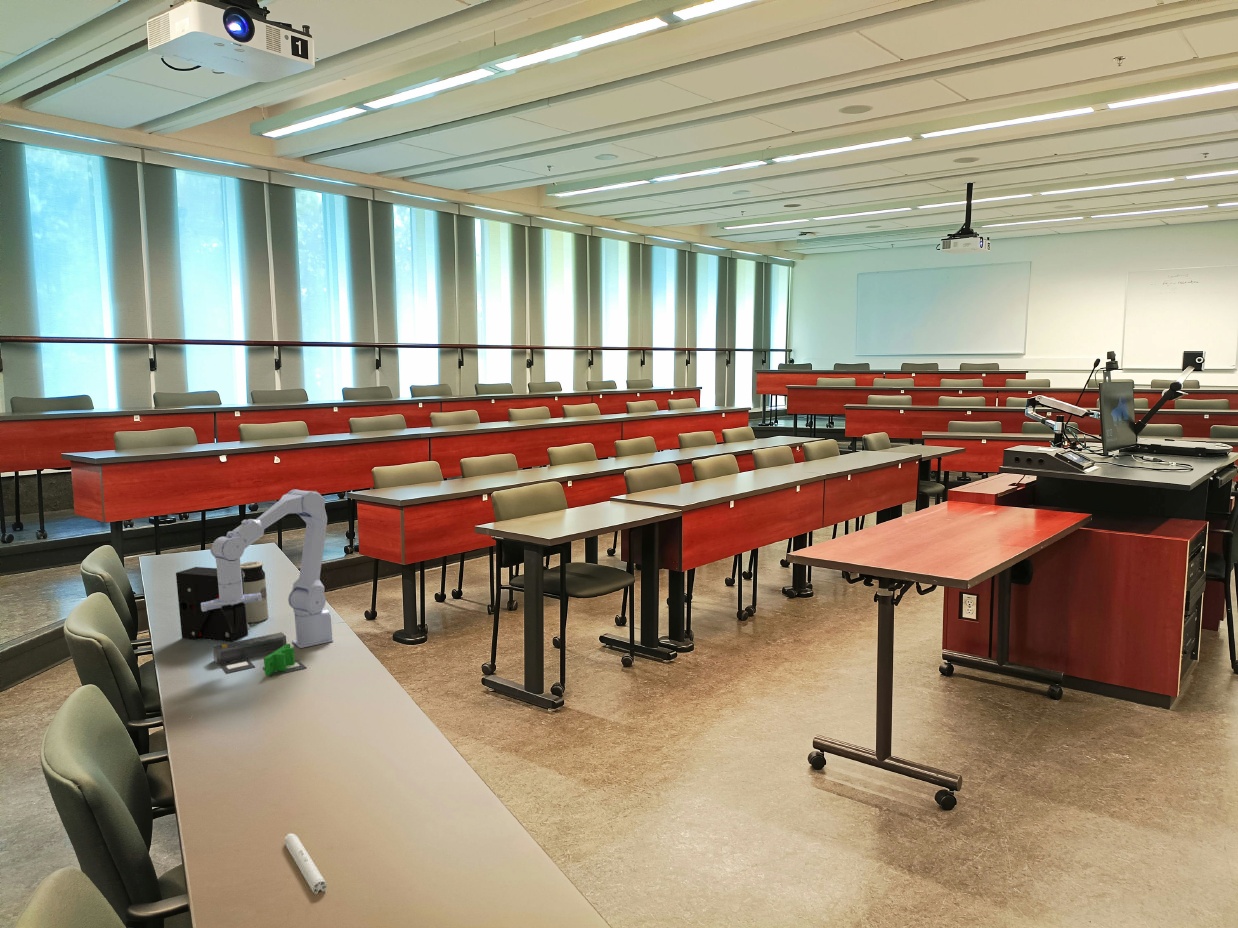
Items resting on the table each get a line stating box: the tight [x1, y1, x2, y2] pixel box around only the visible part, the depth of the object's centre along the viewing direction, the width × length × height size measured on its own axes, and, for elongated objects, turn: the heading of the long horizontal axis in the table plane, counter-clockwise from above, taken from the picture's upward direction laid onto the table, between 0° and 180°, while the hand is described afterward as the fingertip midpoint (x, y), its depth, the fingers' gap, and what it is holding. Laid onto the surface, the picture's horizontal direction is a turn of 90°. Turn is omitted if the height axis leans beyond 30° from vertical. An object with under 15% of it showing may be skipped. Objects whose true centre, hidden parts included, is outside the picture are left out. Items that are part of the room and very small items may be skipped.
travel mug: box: [240, 561, 270, 624], centre depth 263 cm, size 8×8×18 cm
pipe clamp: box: [263, 643, 296, 676], centre depth 219 cm, size 11×4×5 cm, turn 173°
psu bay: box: [212, 631, 288, 665], centre depth 230 cm, size 18×5×4 cm, turn 126°
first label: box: [219, 658, 256, 674], centre depth 222 cm, size 7×8×1 cm
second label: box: [262, 659, 307, 677], centre depth 219 cm, size 9×8×1 cm
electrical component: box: [175, 566, 251, 643], centre depth 247 cm, size 18×10×20 cm, turn 71°
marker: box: [284, 833, 328, 895], centre depth 131 cm, size 18×2×2 cm, turn 36°
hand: (234, 632), depth 221 cm, fingers closed
